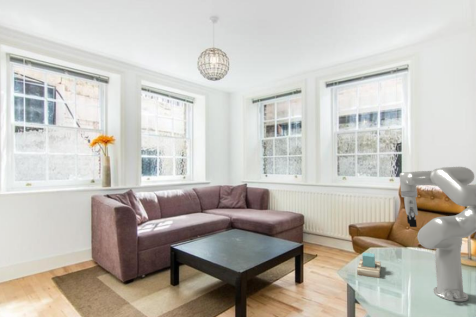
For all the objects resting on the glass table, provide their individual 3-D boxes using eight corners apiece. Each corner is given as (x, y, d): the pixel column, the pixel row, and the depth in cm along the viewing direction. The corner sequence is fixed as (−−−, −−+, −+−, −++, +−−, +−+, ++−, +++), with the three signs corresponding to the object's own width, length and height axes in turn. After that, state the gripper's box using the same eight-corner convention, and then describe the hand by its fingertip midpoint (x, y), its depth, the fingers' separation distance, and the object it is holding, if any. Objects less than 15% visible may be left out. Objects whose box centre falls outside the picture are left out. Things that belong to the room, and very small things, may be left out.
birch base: (379, 278, 143) (378, 272, 143) (357, 274, 148) (357, 268, 149) (380, 266, 158) (380, 261, 158) (360, 263, 164) (360, 258, 164)
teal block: (374, 267, 149) (374, 256, 150) (363, 266, 152) (362, 255, 153) (375, 264, 155) (374, 253, 155) (364, 262, 158) (363, 252, 158)
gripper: (419, 195, 137) (422, 228, 136) (415, 192, 152) (417, 222, 151) (402, 195, 140) (405, 227, 139) (399, 193, 156) (402, 222, 154)
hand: (412, 225), depth 145 cm, fingers open, 9 cm apart
